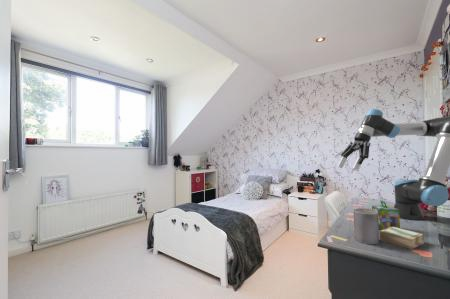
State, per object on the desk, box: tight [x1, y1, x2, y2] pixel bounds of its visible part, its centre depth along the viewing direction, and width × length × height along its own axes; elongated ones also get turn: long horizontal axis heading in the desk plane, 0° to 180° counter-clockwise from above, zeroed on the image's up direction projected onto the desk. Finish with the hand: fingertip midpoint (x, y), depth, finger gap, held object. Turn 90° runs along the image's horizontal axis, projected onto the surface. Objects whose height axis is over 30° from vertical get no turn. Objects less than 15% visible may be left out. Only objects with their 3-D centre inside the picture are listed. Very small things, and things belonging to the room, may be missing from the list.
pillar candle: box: [353, 207, 380, 245], centre depth 101 cm, size 10×10×15 cm
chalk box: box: [371, 199, 401, 231], centre depth 116 cm, size 9×9×15 cm
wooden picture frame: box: [379, 227, 425, 250], centre depth 99 cm, size 12×12×4 cm
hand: (347, 168), depth 123 cm, fingers open, 13 cm apart
